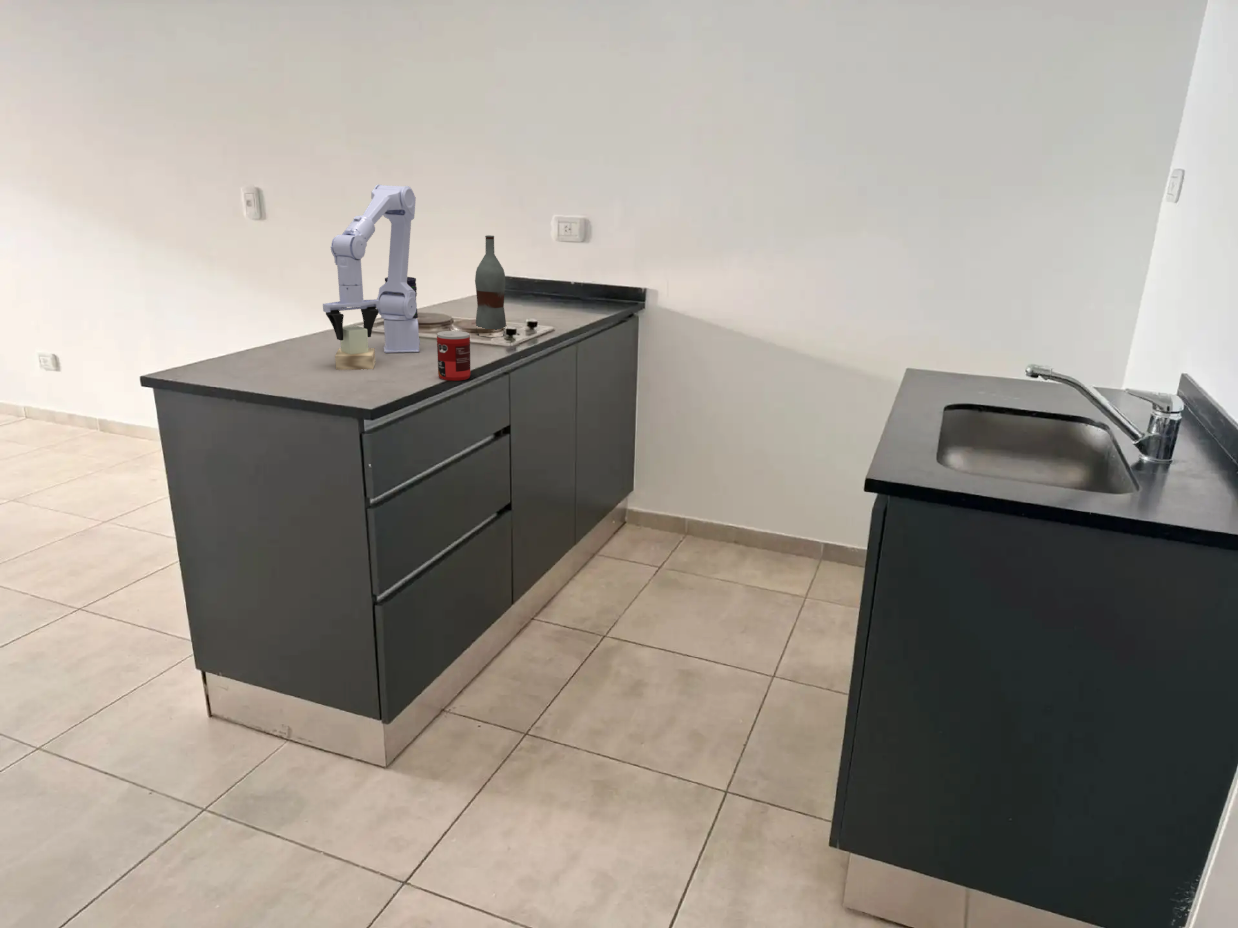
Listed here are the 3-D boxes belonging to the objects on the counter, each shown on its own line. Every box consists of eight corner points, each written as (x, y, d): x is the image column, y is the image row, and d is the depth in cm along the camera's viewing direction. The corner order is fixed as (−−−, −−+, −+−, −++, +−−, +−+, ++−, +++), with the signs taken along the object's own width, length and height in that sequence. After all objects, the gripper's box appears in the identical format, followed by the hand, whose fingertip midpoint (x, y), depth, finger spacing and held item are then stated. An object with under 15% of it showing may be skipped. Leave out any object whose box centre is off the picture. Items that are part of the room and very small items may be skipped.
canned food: (440, 373, 214) (438, 330, 210) (471, 374, 215) (471, 331, 211) (436, 380, 207) (434, 336, 203) (469, 381, 207) (468, 337, 204)
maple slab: (375, 363, 224) (374, 348, 222) (373, 371, 215) (372, 355, 214) (340, 363, 222) (339, 348, 221) (336, 371, 214) (335, 355, 212)
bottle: (486, 339, 258) (484, 237, 248) (470, 334, 264) (468, 234, 254) (511, 336, 264) (511, 236, 254) (495, 331, 270) (494, 234, 260)
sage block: (359, 349, 221) (357, 326, 219) (368, 352, 217) (367, 329, 215) (341, 351, 217) (339, 327, 215) (350, 354, 214) (348, 331, 212)
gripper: (369, 280, 219) (372, 332, 224) (315, 284, 210) (319, 338, 214) (382, 284, 214) (385, 337, 219) (328, 287, 205) (332, 343, 209)
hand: (354, 338), depth 216 cm, fingers open, 7 cm apart
